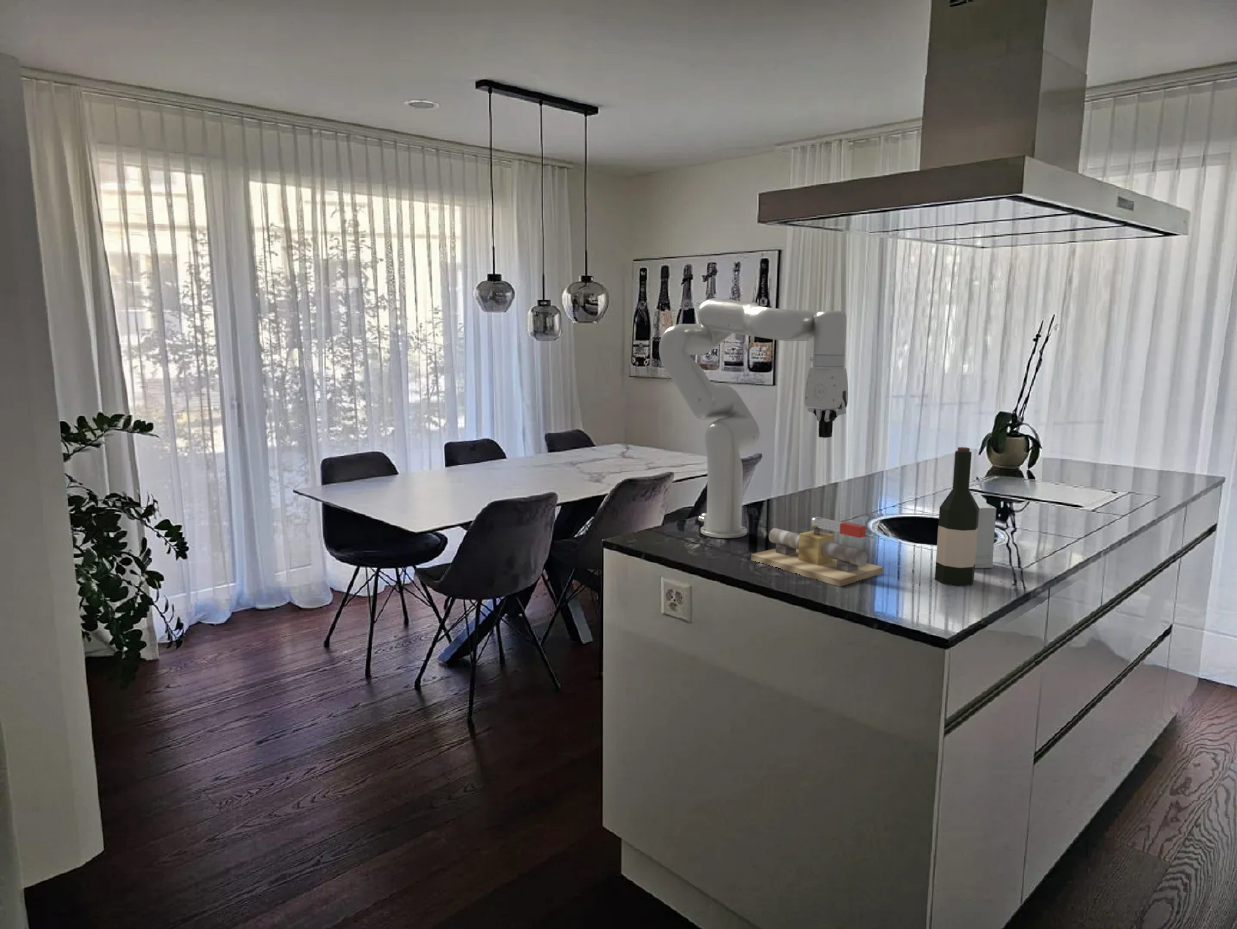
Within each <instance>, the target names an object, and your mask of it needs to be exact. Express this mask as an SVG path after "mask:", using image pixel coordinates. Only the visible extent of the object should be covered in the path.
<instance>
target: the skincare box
mask: <svg viewBox="0 0 1237 929" xmlns="http://www.w3.org/2000/svg"><path fill="white" fill-rule="evenodd" d="M976 503H977V505H978V507H979V520H978V533H977V546H976V559H975V569H989V568H990V569H991V568H993V563H994V562H993V561H994V547H995V531H996V516H997V507H995V506H993V505H991V504H989V503H986V502H985V501H984V502H983V501H982V502H976Z"/></svg>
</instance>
